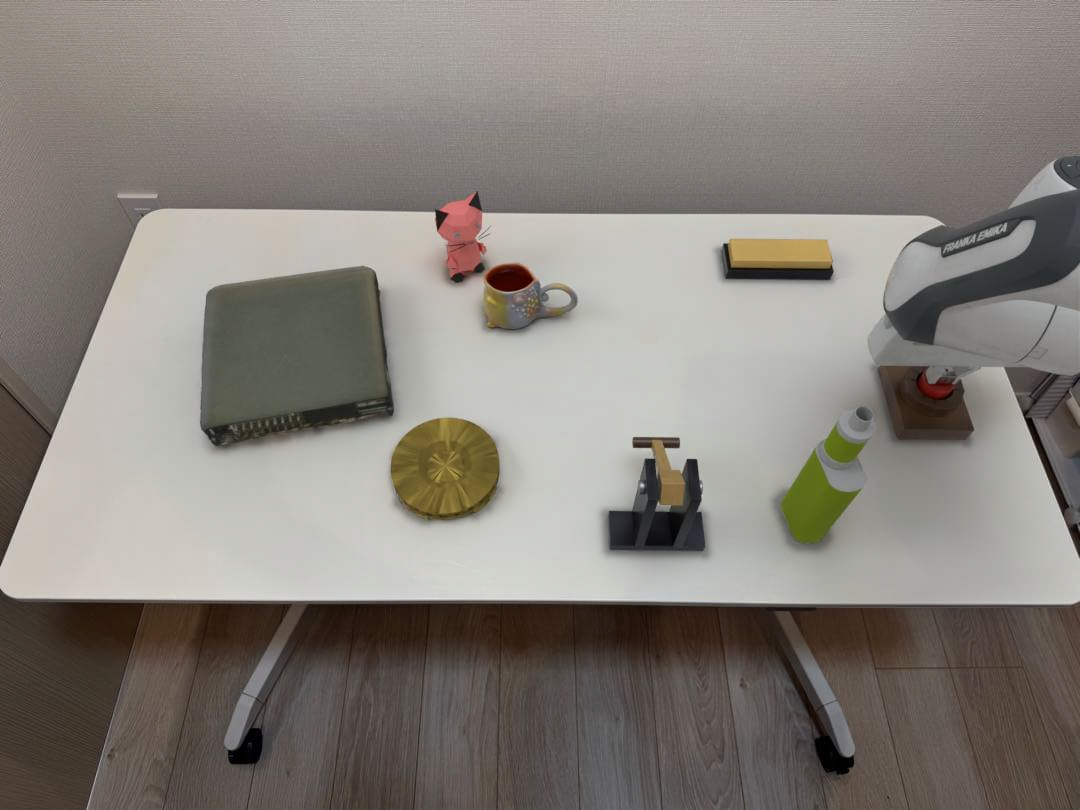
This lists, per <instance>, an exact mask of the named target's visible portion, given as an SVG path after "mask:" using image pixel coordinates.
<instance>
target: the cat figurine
mask: <svg viewBox="0 0 1080 810" xmlns="http://www.w3.org/2000/svg"><path fill="white" fill-rule="evenodd" d="M478 191H479V190H476V191H475V192H473V193H472V194H471V195H469V196H468V197H466V199H461V200H455V201H451V202H448V203H447V204H445V205H444V206H443V207H441V208H440V209H437V208H435V209H434V212H435V217H434V222H435V227H436V233H437V234H438V235H439V236H440V237H441V238H442V239H443V240H445V241H447V242H446V243H447V244H446V245H445V244H444V245H443V246H444V247H445V248H446V252H445V253H446V256H447V259H446V266H447V268H449V280H451V281H453V282H454V283H455V284H458V283H463V281H464V279H465V278H466V273H465V272H467V271H470V272H472V273H475V274H476V273H477V274H482V272H484V271H485V269H486V268H485V265H484V262H482V259H481V254H482V256H484V255H485V254H487V253H486V252H488V250H487V246H485V245H484V243H483V242H478V241H480V240H481V239H483V238H485V237H487V236H489V235H490V233H488V234H486V235H485V233H486V232H487V231H488V230H489V229H490V228H491V226H488V228H487V229H486V230H485V231H483V232H482V233H481V231H482V228H483V209H482V204H481V200H480V196H479V192H478ZM480 233H481V234H480ZM479 234H480V235H479ZM478 235H479V236H478ZM483 235H484V236H483ZM477 237H478V238H477ZM477 239H478V240H477Z"/></svg>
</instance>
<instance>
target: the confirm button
mask: <svg viewBox="0 0 1080 810" xmlns="http://www.w3.org/2000/svg"><path fill="white" fill-rule="evenodd" d="M927 370H928V368H927V369H926V370H925V371H924V372H923V374H922V375H921V376H920V378H919V379H918V381H917V386H918V389H919V390H920V391H921V392H922V393H923V394H924V395H925V396H927V397H929V398H931V399H934V400H943V399H945V398H946V397H947V396H948V395H949V394H950V392H951V391H952V390H953V389H954V387H955V384H929V383H928V380H927V377H926V371H927Z"/></svg>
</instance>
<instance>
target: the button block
mask: <svg viewBox="0 0 1080 810" xmlns="http://www.w3.org/2000/svg"><path fill="white" fill-rule="evenodd" d="M929 367H930V366H879V365H878V368H877V372H878V375H879V379H880V382H881V387H882V389H883V393H884V397H885V401H886V405H887V408H888V411H889V414H890V419H891V422H892V427H893V430H894V433H895V436H896V439H897V440H949V441H950V440H953V441H954V440H955V441H958V440H959V441H960V440H967V439H968V438H970V436H971V435H972V433H974V431H975V428H974V425H973V422H972V419H971V416H970V414H969V410H968V408H967V404H966V401H965V399H964V395H965V393H966V391H965V388H964V384H963V381H962V378H961V379H960V380H959V381H958V382H957V383H956V384H955V387H954V389H953V390H952V391H951V392H950V394H949V395H948V396H947V397H946V398H945V399H943V400H934V399H931V398H929V397H927V396H925V395H924V394H923V393H922V392H921V391H920V390H919V389H918V386H917V381H918V379H919V378H920V376H921V375H922V374H923V372H924V371H925V370H926V369H927V368H929Z"/></svg>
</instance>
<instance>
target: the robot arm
mask: <svg viewBox="0 0 1080 810" xmlns="http://www.w3.org/2000/svg"><path fill="white" fill-rule="evenodd" d="M897 255H898V256H897V257H896V259H895V260H894V262H893V264H892V266H891V268H890V271H889V273H888V276H887V278H886V282H885V287H884V291H883V296H882V297H883V298H882V307H883V310H884V314H883V315H882V316H881V318H880V319H879V320H878V321H877V323H876V324H875V325H874V326H873V328H872V329H871V330H870V332H869V334H868V335H867V337H866V338H867V339H866V340H867V341H866V342H867V347H868V351H869V354H870V356H871V359H872V360H873V362H874V363H875V364H876V366H878V367H879V366H930V367H929V368H928V370H927V371H926V377H927V380H928V383H929V384H956V383H957V382H958V381H959V380H960V379H961V380H962V378H964V377H966V376H968V375H970V374H973V373H975V372H977V371H979V370H981V369H982V368H1029V369H1032V370H1037V371H1040V372H1046V373H1049V374H1054V375H1061V376H1067V377H1069V378H1073V377H1077V376H1080V155H1069V156H1061V157H1058V158H1056V159H1054V160H1052V161H1050V162H1049V163H1048V164H1046V165H1045V166H1044V167H1043V168H1042V169H1041V170H1040V171H1039V172H1038V173H1037V174H1036V175H1035V176H1034V177H1033V178H1032V179H1031V180H1030V181H1029V182H1028V183H1027V184H1026V185H1025V187H1024V188H1023V189H1022V190H1021V192H1019V194H1018V195H1017V196H1016V197H1015V199H1014V200H1013V201H1012V202H1011V204H1010V205H1009V206H1008V208H1007V209H1005V210H1002V211H1000V212H998V213H995V214H992V215H990V216H987V217H985V218H982V219H980V220H977V221H974V222H972V223H969V224H967V225H964V226H961V227H959V228H955V227H951V226H948V225H944V224H941V225H938V226H936V227H933V228H930V229H928V230H926V231H925V232H922V233H921V234H919V235H917V236H916V237H914V238H912V239H911V240H909V242H907V244H905V246H903V248H902V249H901V251H900V252H899V253H898V254H897Z"/></svg>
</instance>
